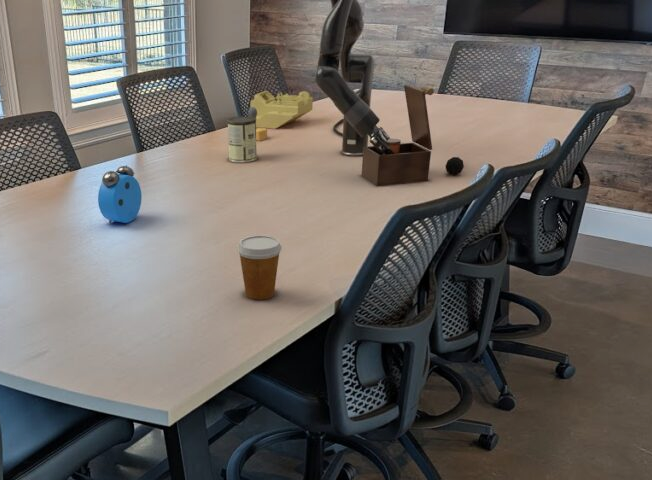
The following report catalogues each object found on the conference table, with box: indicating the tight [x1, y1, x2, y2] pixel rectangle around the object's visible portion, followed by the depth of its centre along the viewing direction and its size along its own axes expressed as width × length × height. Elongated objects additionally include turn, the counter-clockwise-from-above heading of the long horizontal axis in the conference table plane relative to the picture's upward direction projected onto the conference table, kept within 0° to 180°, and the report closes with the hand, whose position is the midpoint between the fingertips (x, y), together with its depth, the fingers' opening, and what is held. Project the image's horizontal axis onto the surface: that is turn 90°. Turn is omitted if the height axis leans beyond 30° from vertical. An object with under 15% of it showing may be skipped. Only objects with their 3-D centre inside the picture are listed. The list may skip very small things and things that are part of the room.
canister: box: [383, 138, 402, 155], centre depth 230 cm, size 5×5×10 cm
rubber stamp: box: [248, 106, 268, 142], centre depth 289 cm, size 10×6×12 cm, turn 53°
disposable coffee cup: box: [236, 235, 283, 301], centre depth 156 cm, size 10×10×12 cm
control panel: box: [250, 90, 314, 130], centre depth 312 cm, size 24×16×20 cm
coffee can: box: [227, 115, 258, 164], centre depth 260 cm, size 10×10×14 cm
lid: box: [403, 84, 435, 151], centre depth 226 cm, size 18×13×6 cm
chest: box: [361, 142, 432, 187], centre depth 232 cm, size 17×13×9 cm
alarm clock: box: [97, 164, 142, 225], centre depth 203 cm, size 13×6×15 cm, turn 151°
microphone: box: [445, 156, 465, 176], centre depth 240 cm, size 6×6×20 cm
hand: (396, 157), depth 230 cm, fingers closed on canister, 5 cm apart
